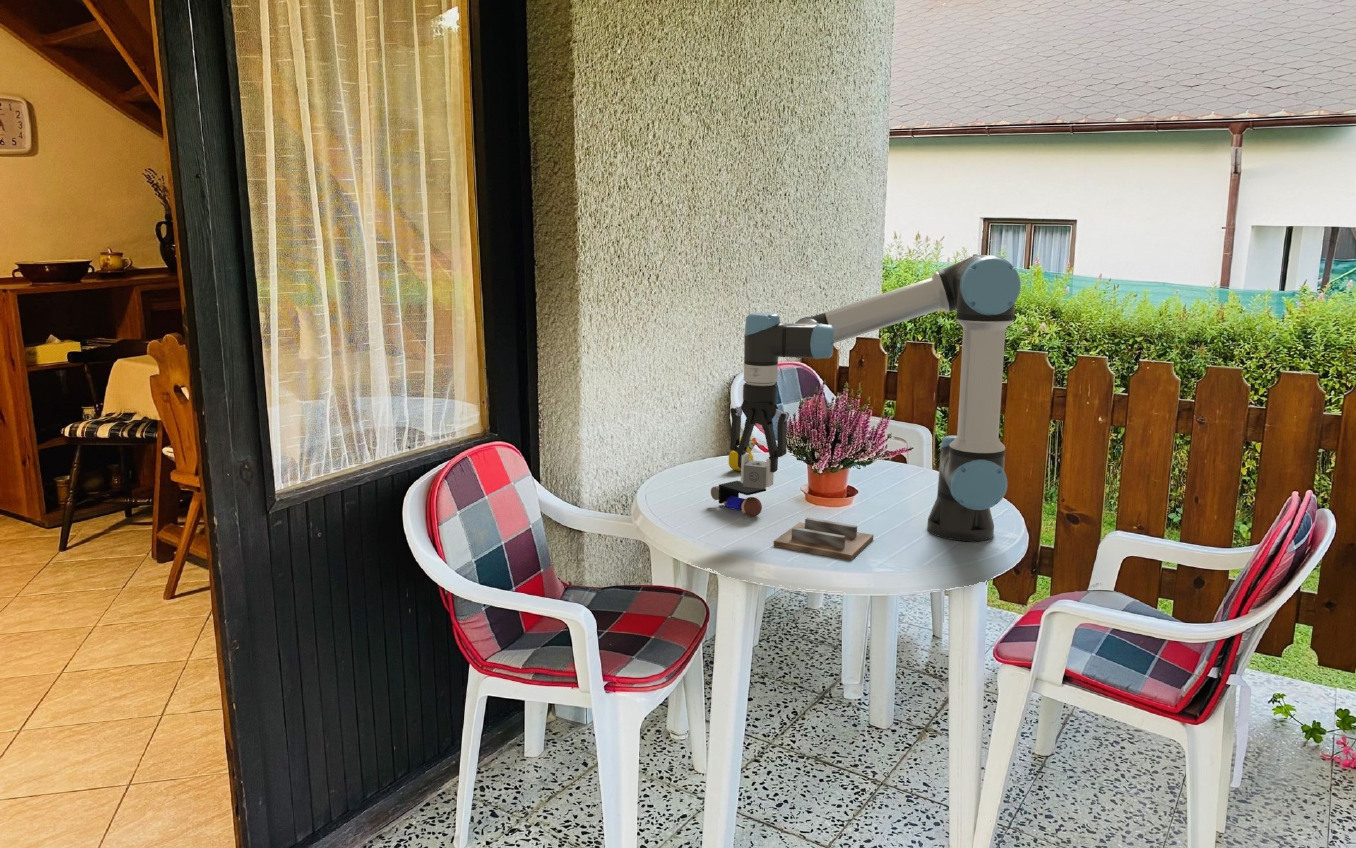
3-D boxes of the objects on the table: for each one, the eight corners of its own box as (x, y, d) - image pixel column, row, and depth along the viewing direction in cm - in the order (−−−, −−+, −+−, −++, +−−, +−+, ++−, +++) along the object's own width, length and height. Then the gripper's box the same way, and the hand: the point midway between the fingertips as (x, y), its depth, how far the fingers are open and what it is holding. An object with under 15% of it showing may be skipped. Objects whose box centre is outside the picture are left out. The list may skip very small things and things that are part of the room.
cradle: (873, 539, 215) (874, 524, 214) (851, 560, 201) (852, 544, 200) (799, 527, 223) (800, 512, 223) (773, 546, 209) (774, 530, 209)
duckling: (746, 465, 281) (747, 432, 279) (761, 468, 278) (762, 435, 276) (723, 471, 273) (724, 438, 271) (737, 475, 270) (738, 441, 267)
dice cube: (743, 486, 212) (743, 465, 211) (749, 481, 217) (750, 460, 216) (764, 488, 210) (765, 467, 209) (770, 483, 215) (771, 462, 214)
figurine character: (709, 511, 239) (747, 520, 227) (707, 482, 238) (746, 489, 226) (729, 507, 243) (768, 516, 231) (728, 478, 242) (767, 485, 230)
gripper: (715, 381, 210) (713, 481, 214) (792, 389, 201) (788, 493, 206) (729, 377, 216) (727, 474, 221) (805, 384, 208) (800, 485, 212)
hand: (756, 483), depth 213 cm, fingers closed on dice cube, 5 cm apart
